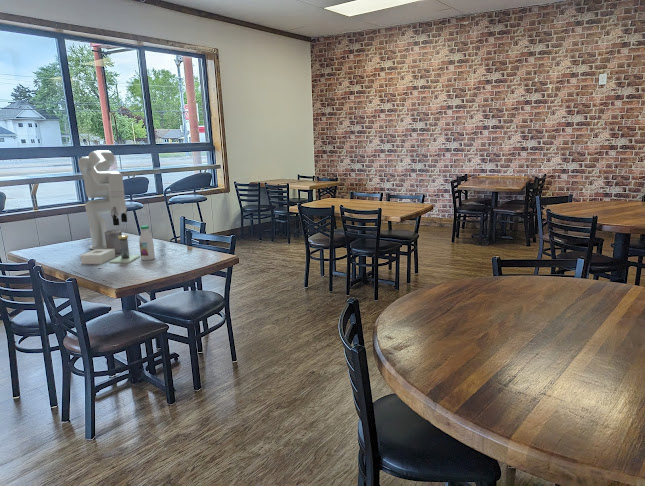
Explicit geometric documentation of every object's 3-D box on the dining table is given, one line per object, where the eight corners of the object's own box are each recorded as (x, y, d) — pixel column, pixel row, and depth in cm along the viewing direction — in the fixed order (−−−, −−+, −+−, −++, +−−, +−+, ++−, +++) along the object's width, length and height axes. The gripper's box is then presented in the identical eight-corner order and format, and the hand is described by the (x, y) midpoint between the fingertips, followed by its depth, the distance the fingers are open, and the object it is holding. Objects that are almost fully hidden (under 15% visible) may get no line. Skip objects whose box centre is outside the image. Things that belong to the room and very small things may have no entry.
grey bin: (113, 250, 293) (110, 227, 289) (127, 251, 291) (124, 228, 287) (103, 254, 284) (100, 231, 280) (117, 254, 282) (114, 231, 278)
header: (96, 256, 278) (95, 248, 277) (115, 256, 277) (114, 248, 276) (81, 263, 262) (80, 255, 261) (101, 263, 262) (100, 255, 260)
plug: (123, 256, 272) (120, 235, 269) (132, 256, 272) (129, 235, 269) (118, 259, 267) (116, 237, 264) (127, 259, 267) (125, 237, 264)
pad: (121, 257, 276) (120, 255, 276) (140, 256, 275) (140, 255, 275) (109, 263, 262) (109, 261, 262) (129, 263, 262) (129, 261, 261)
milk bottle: (151, 256, 275) (148, 224, 271) (157, 258, 270) (153, 225, 266) (139, 259, 270) (135, 226, 266) (144, 261, 265) (140, 227, 260)
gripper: (118, 192, 269) (121, 220, 273) (103, 196, 252) (106, 226, 256) (130, 192, 268) (133, 220, 273) (116, 196, 252) (119, 226, 256)
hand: (120, 223), depth 264 cm, fingers open, 9 cm apart
